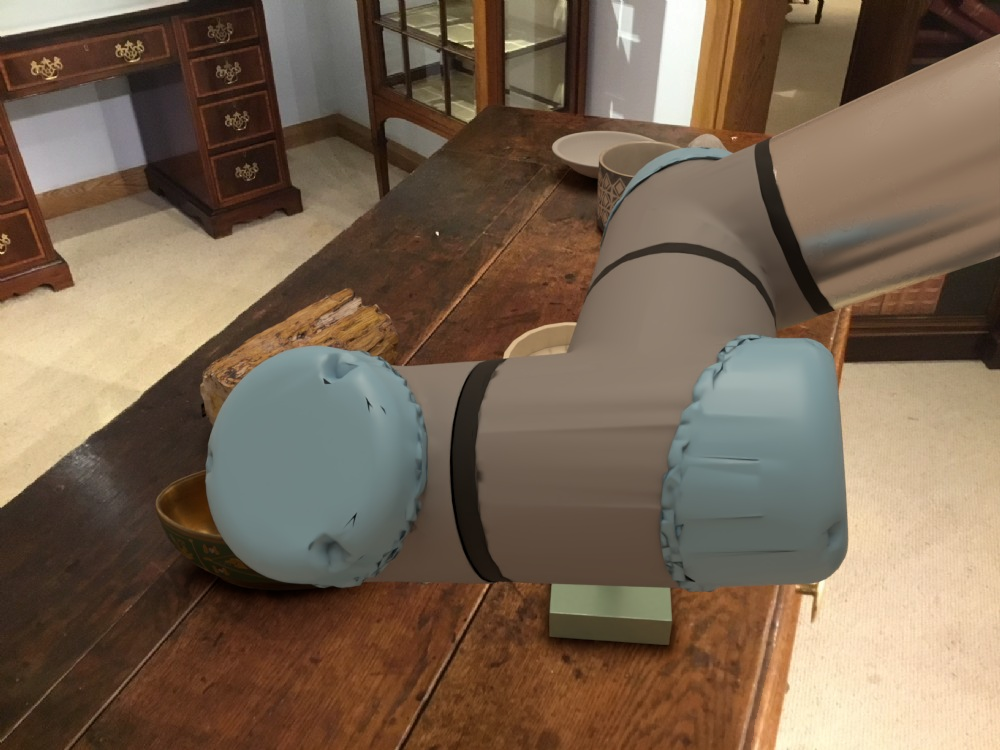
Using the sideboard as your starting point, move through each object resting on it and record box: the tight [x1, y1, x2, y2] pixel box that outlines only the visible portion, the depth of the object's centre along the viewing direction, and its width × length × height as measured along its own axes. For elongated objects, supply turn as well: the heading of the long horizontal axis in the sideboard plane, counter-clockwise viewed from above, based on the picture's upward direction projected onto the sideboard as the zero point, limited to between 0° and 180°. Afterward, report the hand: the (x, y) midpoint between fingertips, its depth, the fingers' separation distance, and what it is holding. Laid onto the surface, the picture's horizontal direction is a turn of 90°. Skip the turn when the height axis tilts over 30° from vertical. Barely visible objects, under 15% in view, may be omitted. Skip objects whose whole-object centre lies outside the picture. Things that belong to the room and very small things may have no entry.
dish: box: [551, 130, 656, 180], centre depth 133 cm, size 18×14×5 cm
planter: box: [596, 140, 682, 233], centre depth 118 cm, size 13×13×10 cm
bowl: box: [502, 321, 577, 359], centre depth 87 cm, size 14×14×6 cm
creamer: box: [154, 469, 319, 591], centre depth 71 cm, size 13×20×10 cm, turn 70°
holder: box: [548, 584, 673, 646], centre depth 69 cm, size 9×9×3 cm
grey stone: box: [687, 133, 729, 151], centre depth 136 cm, size 9×8×5 cm
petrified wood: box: [199, 287, 400, 427], centre depth 88 cm, size 19×13×10 cm
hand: (594, 508), depth 59 cm, fingers open, 13 cm apart
